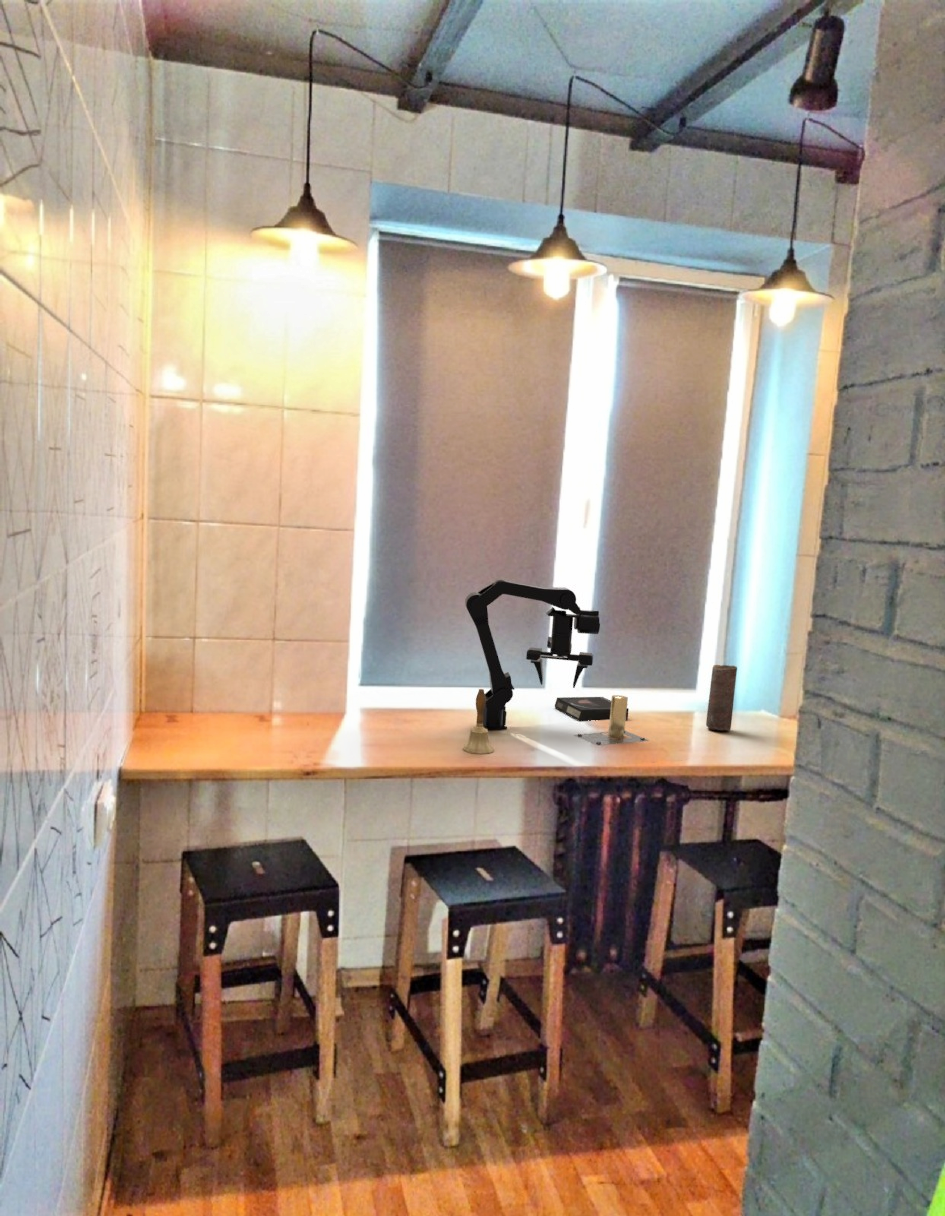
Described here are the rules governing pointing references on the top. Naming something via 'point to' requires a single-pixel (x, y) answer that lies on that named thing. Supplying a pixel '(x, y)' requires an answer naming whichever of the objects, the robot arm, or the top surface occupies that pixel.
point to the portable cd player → (586, 708)
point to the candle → (721, 697)
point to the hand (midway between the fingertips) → (557, 686)
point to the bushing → (617, 716)
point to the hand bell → (479, 730)
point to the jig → (605, 740)
